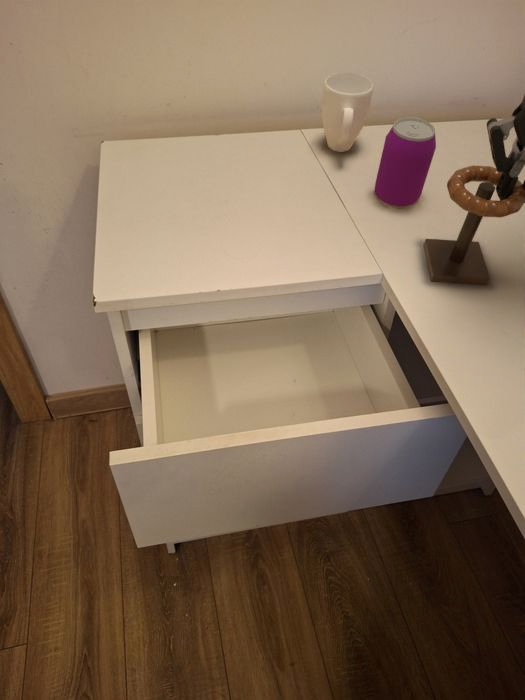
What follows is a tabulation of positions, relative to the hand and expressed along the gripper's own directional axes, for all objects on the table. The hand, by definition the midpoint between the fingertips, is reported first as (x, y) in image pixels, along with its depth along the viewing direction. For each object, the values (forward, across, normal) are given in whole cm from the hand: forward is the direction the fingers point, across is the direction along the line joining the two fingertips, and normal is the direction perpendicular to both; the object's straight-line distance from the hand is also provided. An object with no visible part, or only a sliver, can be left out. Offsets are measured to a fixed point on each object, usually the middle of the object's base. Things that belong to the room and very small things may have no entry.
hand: (512, 198), depth 67 cm
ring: (-1, -4, 0) cm, 4 cm away
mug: (+12, -20, +29) cm, 37 cm away
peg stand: (+12, -4, 0) cm, 12 cm away
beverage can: (+12, -11, +16) cm, 23 cm away
